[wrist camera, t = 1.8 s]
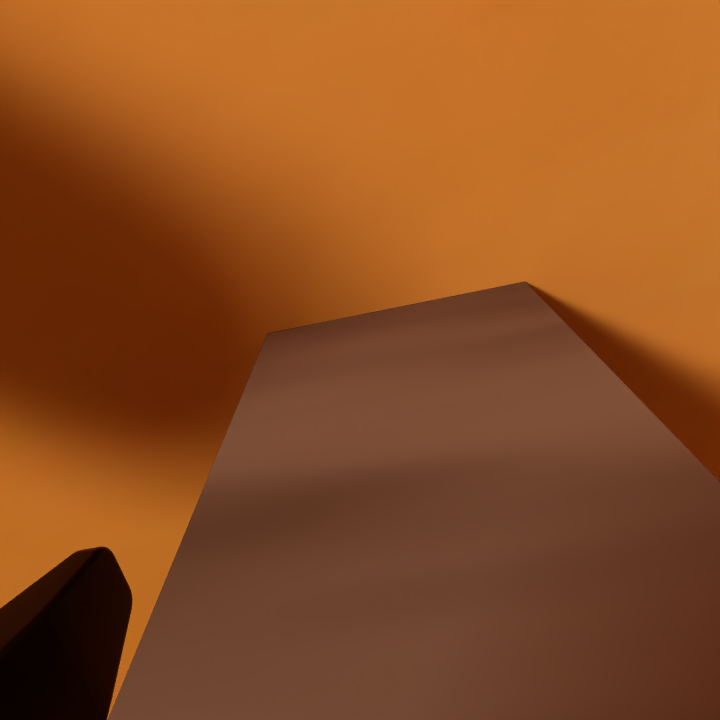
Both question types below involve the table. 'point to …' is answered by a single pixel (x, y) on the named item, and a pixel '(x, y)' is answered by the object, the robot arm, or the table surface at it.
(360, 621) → the walnut post
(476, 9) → the table surface
